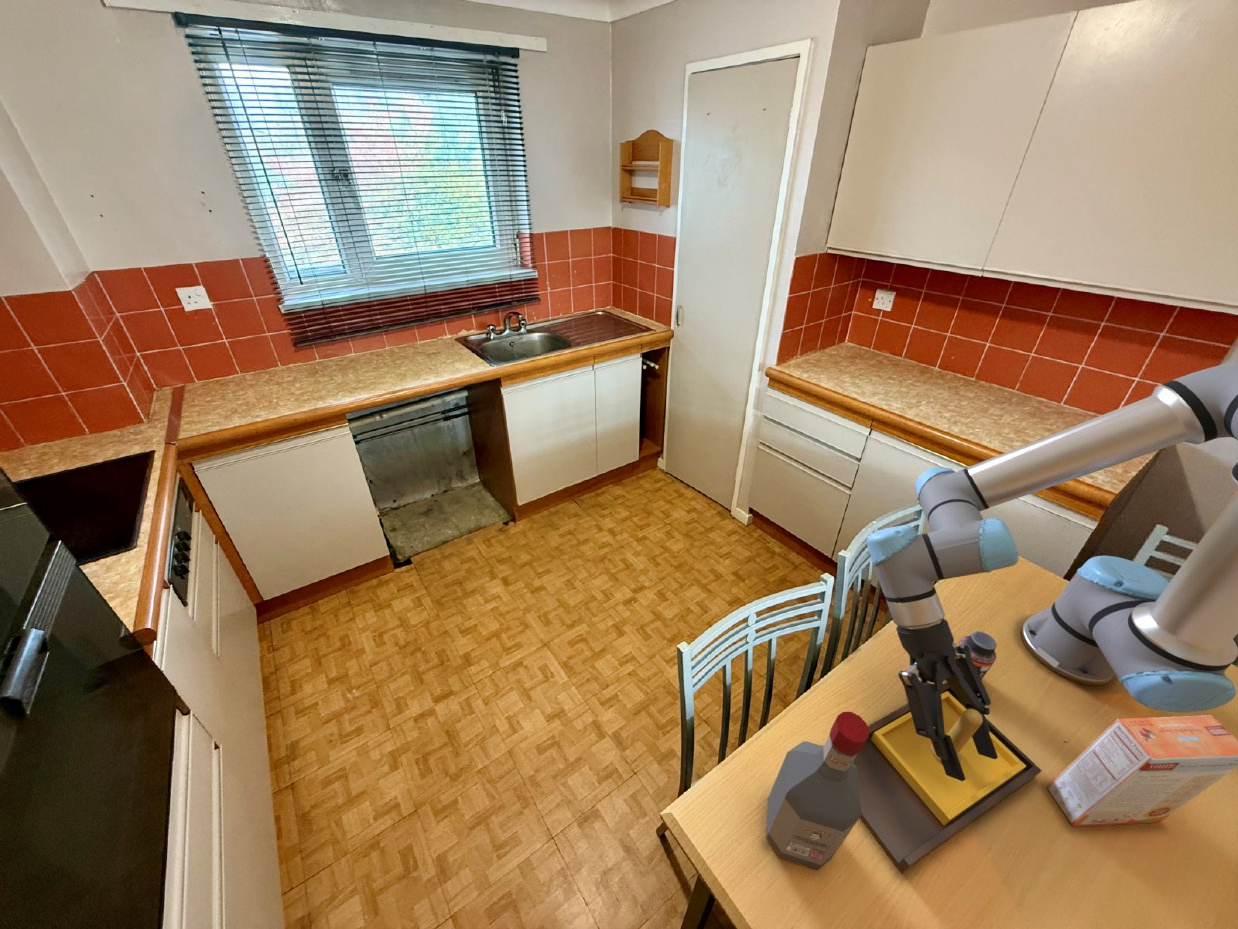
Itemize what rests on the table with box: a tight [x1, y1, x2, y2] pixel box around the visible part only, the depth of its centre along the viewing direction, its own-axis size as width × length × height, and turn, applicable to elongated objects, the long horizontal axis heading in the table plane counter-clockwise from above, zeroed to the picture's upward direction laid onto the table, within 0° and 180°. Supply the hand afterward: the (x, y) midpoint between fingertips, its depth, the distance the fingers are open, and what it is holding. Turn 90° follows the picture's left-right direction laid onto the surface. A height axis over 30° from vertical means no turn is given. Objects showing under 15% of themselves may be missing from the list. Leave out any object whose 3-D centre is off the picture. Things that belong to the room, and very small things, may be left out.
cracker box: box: [1046, 714, 1238, 827], centre depth 73 cm, size 14×6×21 cm, turn 92°
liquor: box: [765, 711, 869, 871], centre depth 67 cm, size 9×9×30 cm
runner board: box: [852, 681, 1042, 875], centre depth 82 cm, size 30×17×3 cm, turn 115°
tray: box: [871, 691, 1026, 826], centre depth 80 cm, size 18×14×13 cm
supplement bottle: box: [957, 630, 998, 680], centre depth 94 cm, size 6×6×11 cm
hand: (972, 766), depth 79 cm, fingers open, 7 cm apart
